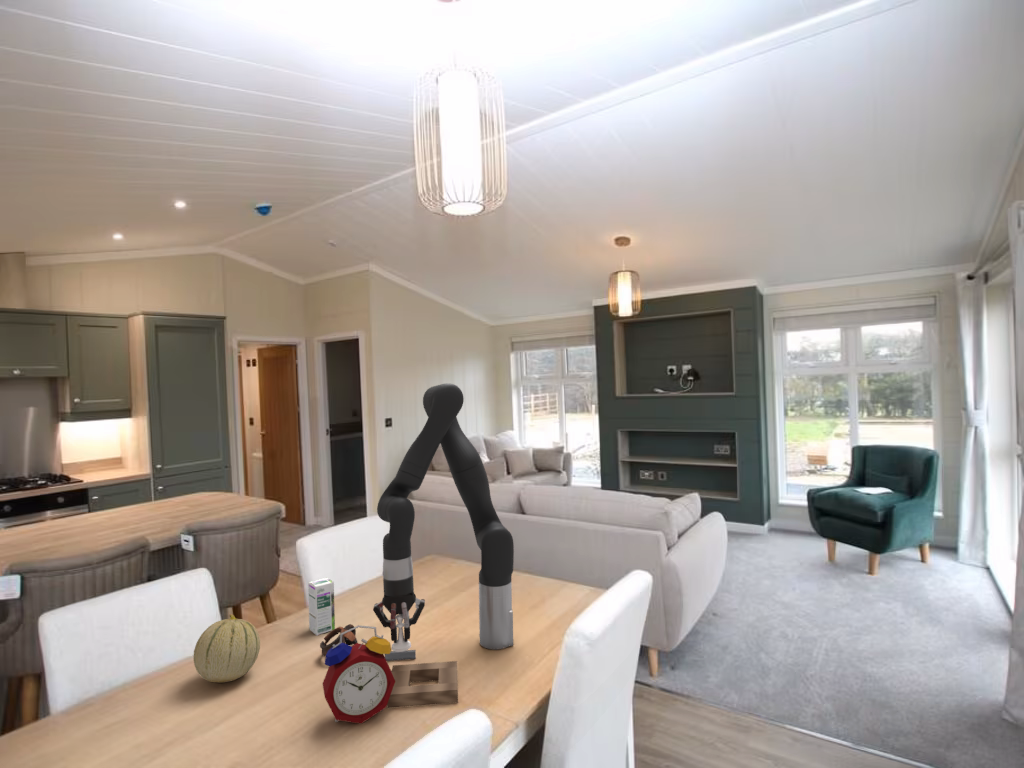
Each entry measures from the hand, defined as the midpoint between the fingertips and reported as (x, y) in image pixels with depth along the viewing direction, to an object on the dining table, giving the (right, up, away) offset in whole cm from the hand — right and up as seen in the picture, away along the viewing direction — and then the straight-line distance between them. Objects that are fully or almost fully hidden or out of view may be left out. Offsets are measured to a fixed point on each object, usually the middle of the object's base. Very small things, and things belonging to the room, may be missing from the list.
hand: (400, 640), depth 140 cm
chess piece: (0, -2, 0) cm, 2 cm away
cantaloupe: (-43, -8, -3) cm, 43 cm away
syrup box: (-28, -8, +23) cm, 38 cm away
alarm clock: (-6, -8, -18) cm, 21 cm away
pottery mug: (-18, -8, +9) cm, 21 cm away
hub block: (+7, -7, -9) cm, 14 cm away
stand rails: (-1, -7, 0) cm, 7 cm away
